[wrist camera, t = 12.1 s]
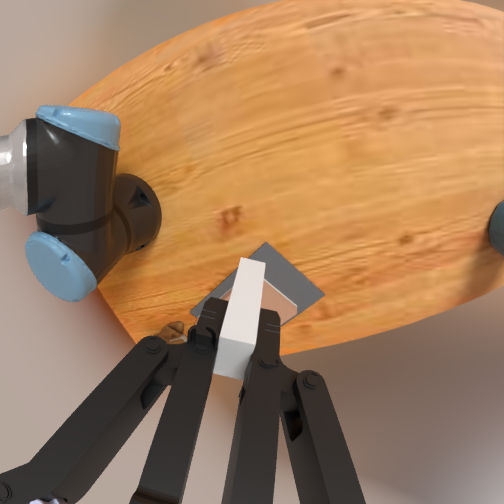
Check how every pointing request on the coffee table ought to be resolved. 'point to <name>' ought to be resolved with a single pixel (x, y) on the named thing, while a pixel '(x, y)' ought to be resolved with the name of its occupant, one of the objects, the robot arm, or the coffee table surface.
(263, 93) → the coffee table surface
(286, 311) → the tile
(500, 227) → the wine bottle
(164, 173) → the coffee table surface
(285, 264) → the mat
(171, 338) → the stuffed squirrel
